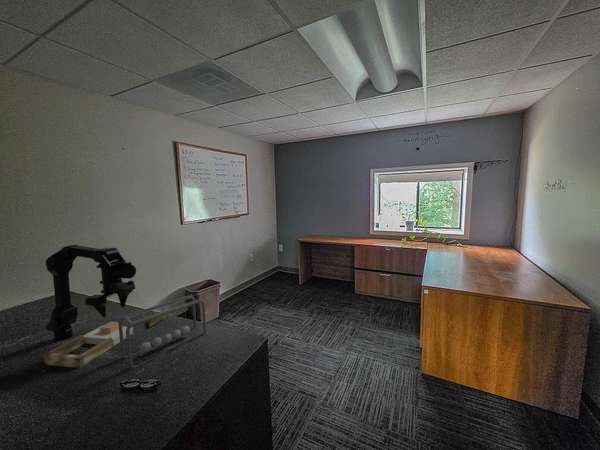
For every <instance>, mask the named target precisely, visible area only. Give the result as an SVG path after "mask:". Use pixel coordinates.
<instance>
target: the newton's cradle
mask: <svg viewBox="0 0 600 450" xmlns="http://www.w3.org/2000/svg"><path fill="white" fill-rule="evenodd" d="M189 299H191V301H190V302H187V303H185V302H183V301H187V300H189ZM179 302H180V303H182V302H183V304H180V305H179V306H175V304H177V303H179ZM197 304H201V308H202V310H201V311H202V312H201V313H202V324H203V325H202V326H203V329H202V330H203V333H202V336H205V335H206V334H207V320H206V305H205V304H206V303H205V301H204V300H201V299H200V300H198V299H197V298H195V296H194V295H192V294H191V295H190V294H189V295H185V296H183V297H180V298H177V299H173V300H170V301H166V302H164V303H161V304H158V305H154V306H150V307H148V308H144V309H141V310H138V311H135V312H132V313H128V314H125V315H122V316H121V317H120V318H119V320H118V321H117V322H118V325H119V335H120V342H119V343H120V353H121V358H122V359H124V360H126V359H128V366H129V369H135V368H137V367H138V366H140V365H143V364H144V363H147V362H149V361H150V360H152V359H155V358H157V357H159V356H160V354H159V355H157V356H154V357H151V358H150V359H148V360H145V361H143V362H141V363H139V364H136V365H134V364H133V356H135V355H137V354H140V353H147V352H149V351H150V350H151V348H159V347H160V346H162V344H163V343H164V344H169V343H170V342H171V341H172V339H174V340H177V339H179V338H181V335H183V336H187V335H188V334H189V333H190V331H192V330H194V329H196V328H197V318H196V317H197V316H196V314H197V313H196V305H197ZM168 306H174V307H171V308H170V309H166V308H165V307H168ZM190 307H192V318H193V321H192V322H193V327H192V328H190V327H189V326H187V325H186V318H187V317H186V314H187V312H186V311H187V310H186V309H187V308H190ZM159 309H161V310H162V311H161V312H155V310H159ZM184 309H185V312H184V313H185V314H184V315H183V311H182V310H184ZM180 310H181V314H182V316H184V317H182V318H183V319H182V321H183V322H184V324H183V326H182V327H181V329H177V323H178V311H180ZM149 312H152V315H149V316H147V317H146V316H145V315H144V314H146V313H149ZM175 312H176V313H175ZM154 313H155V314H154ZM174 313H175V314H176V318H175V316H174V315H175V314H174ZM169 314H172V316H173V317H172V318H175V320H176V321H175V320H173V322H174V325H175V326H174V328H175V329H174V330H173V331H172V332H171V333H168V332H165V334H163V335H162V337H158V335H155V338H153V339H152V342H151V343H150V342H149V341H147V338H146V335H143V339H144V342H142V344H141V345H140V346H139V350H138V351H136V352H134V353H132V343H131V335H130V328H131V327H135V326H137V325H141V324H144V323H147V322H149V320H152V319H153V320H154V319H155V318H158V317H161V316H164V315H165V316H167V315H169ZM139 315H141V316H142V317H141V318H140V319H138V320H134V321H131V320H130V319H131V318H133V317H137V316H139ZM125 319H126V320H127V321H128V323H130V324H129V325H127V326H126V327H127V329H126V338H125V339H126V347H127V348H125V341H124V340H125V339H123V328H122V326H123V321H124V320H125ZM163 321H164V324H166V320H165V319H163ZM153 327H156V324H155V323H154V325H153ZM142 328H143V329H142V330H143V332H145V328H144V326H142ZM164 328H165V329H164V330H165V331H167V326H164ZM154 331H155V334H157V329H154ZM125 349H127V355H126V351H125Z"/></svg>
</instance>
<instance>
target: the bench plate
mask: <svg viewBox="0 0 600 450" xmlns="http://www.w3.org/2000/svg"><path fill="white" fill-rule="evenodd" d="M104 325H105V324H102V325H100V326H99V327H97V328H96V329H93V330H91V331H89V332H88V333H86V334H84V335H83V338H84V344H88V345H98V344H99V343H101V342H103V341H104V340H106V339H107V338H112V341H113V347H114V346H117V345H118V344H119V343H120V335H119V329H118V330H116V331H114V332H113V333H111V334H108V333H100V327H102V326H104ZM127 327H128V326H124V325H122V328H123V339H124V340H125V339H126V329H127ZM133 334H134V326H132V327H131V328H130V336H131V335H133Z"/></svg>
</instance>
